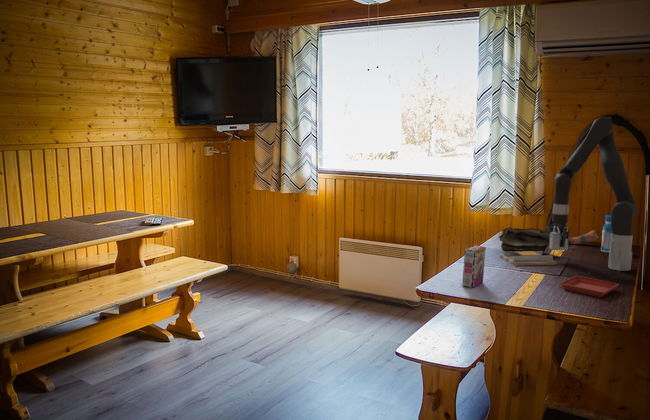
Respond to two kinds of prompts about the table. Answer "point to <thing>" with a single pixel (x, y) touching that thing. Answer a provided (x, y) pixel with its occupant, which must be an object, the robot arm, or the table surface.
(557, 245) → the medicine box
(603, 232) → the beverage bottle
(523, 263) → the rail board
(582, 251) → the table surface
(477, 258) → the candy bar box
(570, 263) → the table surface
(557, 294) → the table surface
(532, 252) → the orange rectangular slab
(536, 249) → the hollow geode rock
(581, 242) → the drinking horn
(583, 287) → the plant saucer
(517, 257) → the rail
